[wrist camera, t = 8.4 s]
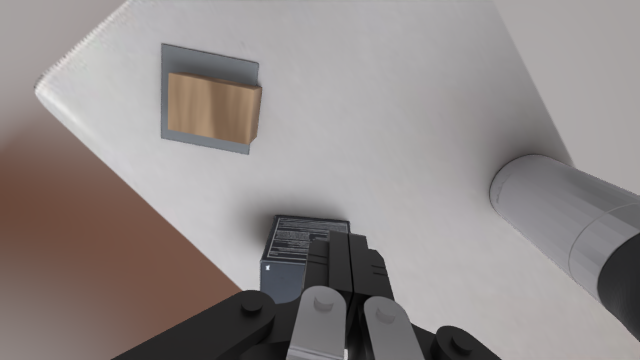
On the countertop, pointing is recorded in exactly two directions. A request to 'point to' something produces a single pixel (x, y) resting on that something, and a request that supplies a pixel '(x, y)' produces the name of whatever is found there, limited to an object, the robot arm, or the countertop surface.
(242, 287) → the countertop surface
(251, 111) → the walnut block
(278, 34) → the countertop surface
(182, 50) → the mat
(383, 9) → the countertop surface
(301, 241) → the small box
